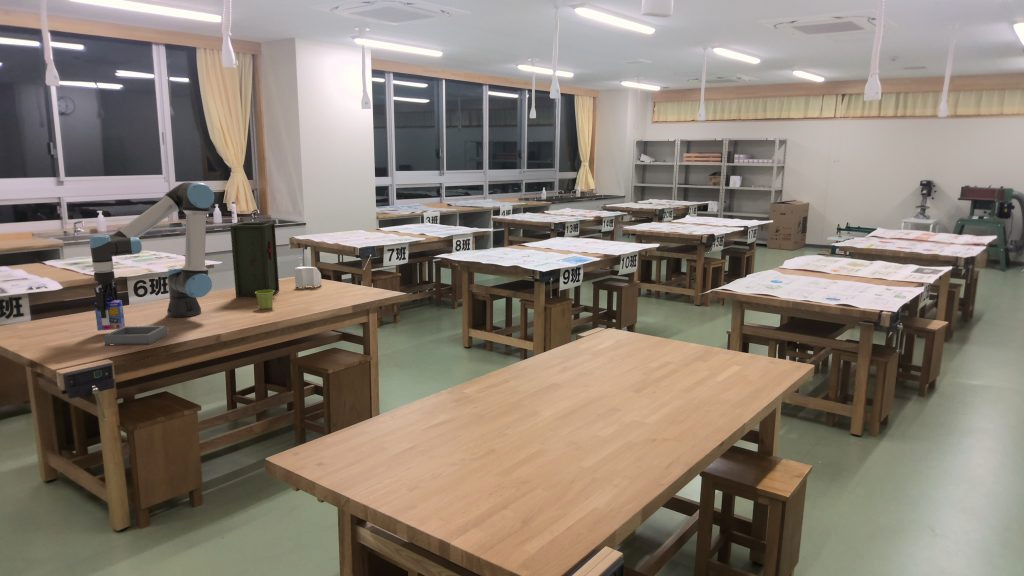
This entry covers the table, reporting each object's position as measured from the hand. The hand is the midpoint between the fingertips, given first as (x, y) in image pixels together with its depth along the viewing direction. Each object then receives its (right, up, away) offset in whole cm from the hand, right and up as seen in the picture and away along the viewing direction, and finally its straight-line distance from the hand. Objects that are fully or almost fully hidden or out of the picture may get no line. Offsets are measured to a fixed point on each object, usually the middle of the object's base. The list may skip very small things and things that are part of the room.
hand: (110, 323), depth 293 cm
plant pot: (+49, +5, +51) cm, 71 cm away
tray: (+17, -7, -10) cm, 21 cm away
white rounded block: (+53, +16, +111) cm, 124 cm away
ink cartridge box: (0, -3, 0) cm, 3 cm away
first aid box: (+31, +12, +88) cm, 94 cm away
